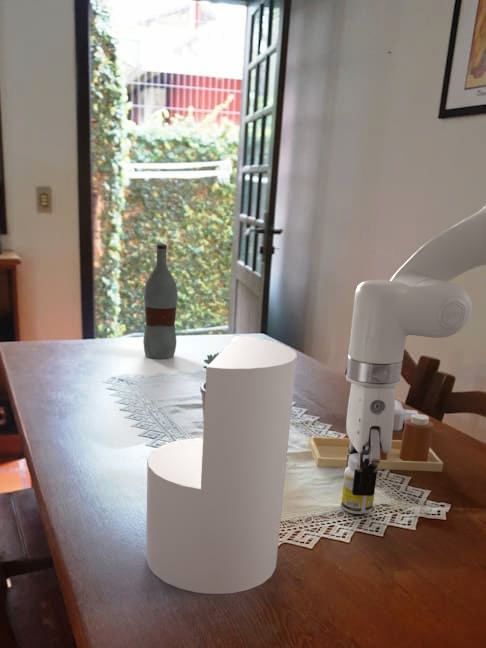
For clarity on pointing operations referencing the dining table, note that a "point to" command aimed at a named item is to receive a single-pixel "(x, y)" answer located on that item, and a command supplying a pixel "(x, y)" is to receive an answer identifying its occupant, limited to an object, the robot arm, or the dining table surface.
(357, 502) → the supplement bottle
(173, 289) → the grey green soda bottle
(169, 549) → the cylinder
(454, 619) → the dining table surface
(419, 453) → the amber bottle
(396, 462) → the tray
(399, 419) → the charger
